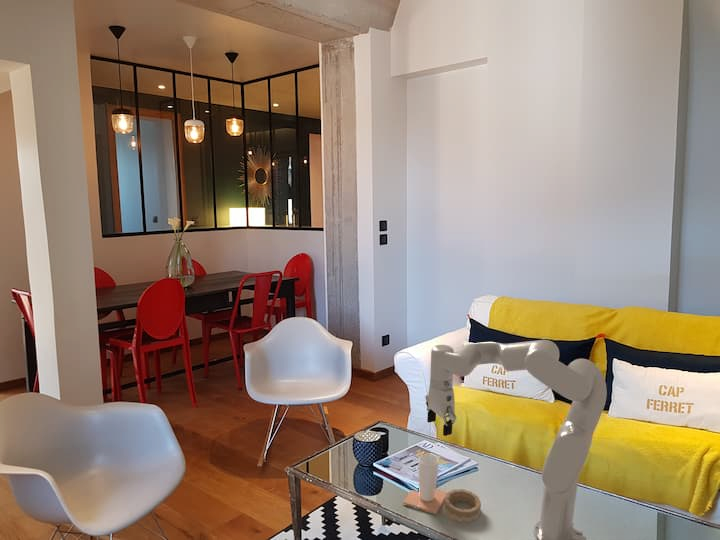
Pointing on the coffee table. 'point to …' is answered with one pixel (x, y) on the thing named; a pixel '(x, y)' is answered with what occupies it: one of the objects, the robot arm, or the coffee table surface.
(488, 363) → the robot arm
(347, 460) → the coffee table surface
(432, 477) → the drinking glass
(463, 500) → the collar ring
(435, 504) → the terracotta tile
